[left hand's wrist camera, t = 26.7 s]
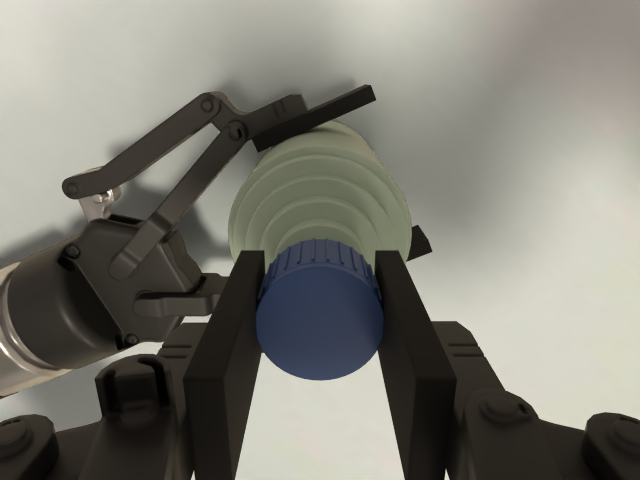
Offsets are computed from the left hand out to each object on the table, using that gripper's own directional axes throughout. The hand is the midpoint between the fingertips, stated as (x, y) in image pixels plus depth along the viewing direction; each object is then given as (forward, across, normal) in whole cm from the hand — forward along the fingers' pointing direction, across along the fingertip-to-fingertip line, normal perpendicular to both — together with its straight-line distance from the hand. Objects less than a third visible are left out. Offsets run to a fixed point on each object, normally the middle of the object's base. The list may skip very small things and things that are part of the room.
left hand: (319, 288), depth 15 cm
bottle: (+17, 0, 0) cm, 17 cm away
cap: (-2, 0, 0) cm, 2 cm away
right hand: (+11, -4, -2) cm, 12 cm away
